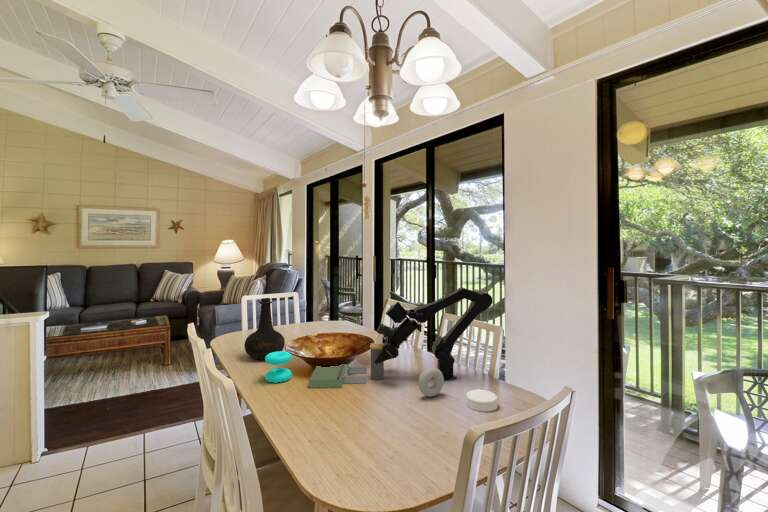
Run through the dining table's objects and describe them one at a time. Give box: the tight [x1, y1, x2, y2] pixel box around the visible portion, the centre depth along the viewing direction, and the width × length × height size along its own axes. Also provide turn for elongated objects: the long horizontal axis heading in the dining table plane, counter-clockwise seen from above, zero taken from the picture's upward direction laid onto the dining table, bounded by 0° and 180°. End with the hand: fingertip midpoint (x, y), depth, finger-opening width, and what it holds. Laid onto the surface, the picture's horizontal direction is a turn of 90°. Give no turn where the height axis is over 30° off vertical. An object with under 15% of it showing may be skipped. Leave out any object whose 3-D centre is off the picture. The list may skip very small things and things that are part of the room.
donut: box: [418, 366, 445, 398], centre depth 125 cm, size 10×3×10 cm, turn 118°
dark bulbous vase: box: [244, 297, 286, 360], centre depth 170 cm, size 18×18×28 cm
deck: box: [308, 363, 368, 389], centre depth 143 cm, size 20×20×4 cm
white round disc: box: [465, 389, 499, 413], centre depth 118 cm, size 10×10×4 cm
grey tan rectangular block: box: [369, 342, 385, 381], centre depth 143 cm, size 5×5×13 cm
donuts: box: [264, 350, 293, 384], centre depth 142 cm, size 10×10×10 cm
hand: (375, 359), depth 143 cm, fingers open, 9 cm apart
